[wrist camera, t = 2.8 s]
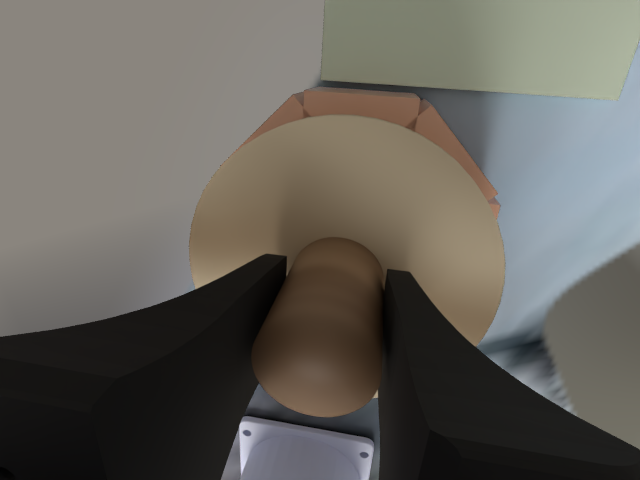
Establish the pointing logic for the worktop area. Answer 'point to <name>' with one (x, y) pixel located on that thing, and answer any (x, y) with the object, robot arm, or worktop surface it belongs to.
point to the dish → (384, 107)
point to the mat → (484, 44)
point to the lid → (346, 248)
